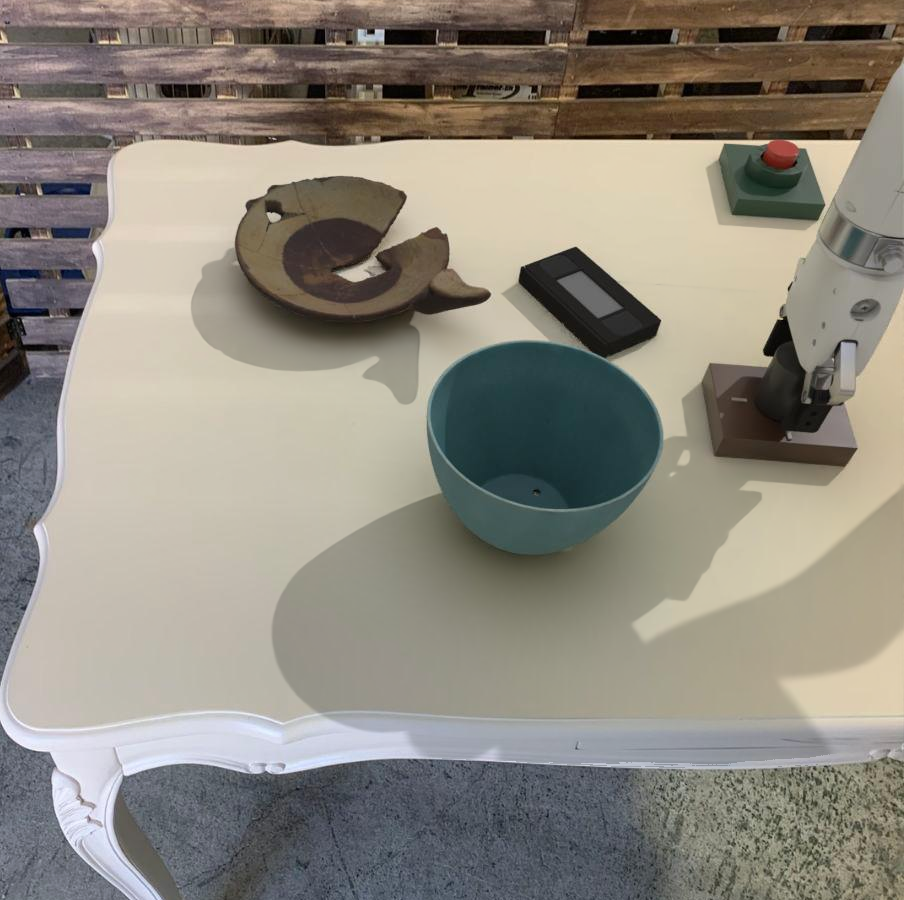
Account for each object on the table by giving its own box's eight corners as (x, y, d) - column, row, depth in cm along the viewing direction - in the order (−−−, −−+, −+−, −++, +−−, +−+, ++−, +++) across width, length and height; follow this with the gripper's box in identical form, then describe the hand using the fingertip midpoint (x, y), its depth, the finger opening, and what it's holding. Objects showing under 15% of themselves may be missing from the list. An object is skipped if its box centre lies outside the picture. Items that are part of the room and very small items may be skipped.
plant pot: (564, 419, 86) (591, 318, 76) (664, 566, 76) (711, 471, 66) (387, 468, 82) (392, 368, 73) (469, 629, 72) (487, 539, 62)
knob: (748, 383, 86) (771, 336, 81) (801, 385, 86) (827, 338, 81) (760, 421, 83) (784, 375, 78) (814, 423, 83) (842, 377, 78)
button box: (799, 164, 113) (812, 134, 110) (817, 221, 106) (832, 190, 103) (718, 159, 113) (729, 129, 110) (731, 215, 106) (743, 184, 103)
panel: (824, 390, 89) (835, 370, 87) (846, 466, 83) (859, 447, 81) (701, 381, 90) (710, 361, 87) (714, 456, 84) (723, 436, 82)
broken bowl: (376, 193, 108) (377, 132, 102) (517, 340, 93) (529, 279, 87) (204, 246, 102) (194, 184, 96) (325, 414, 86) (323, 354, 80)
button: (790, 154, 108) (796, 140, 106) (795, 171, 106) (801, 157, 104) (759, 152, 108) (765, 138, 106) (764, 169, 106) (770, 155, 104)
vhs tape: (572, 261, 101) (576, 246, 99) (657, 336, 94) (662, 320, 92) (518, 282, 99) (520, 266, 97) (600, 360, 91) (604, 345, 90)
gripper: (956, 306, 64) (849, 464, 78) (896, 170, 74) (811, 332, 88) (848, 298, 64) (761, 457, 78) (803, 164, 75) (733, 326, 88)
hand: (787, 391), depth 83 cm, fingers open, 9 cm apart
